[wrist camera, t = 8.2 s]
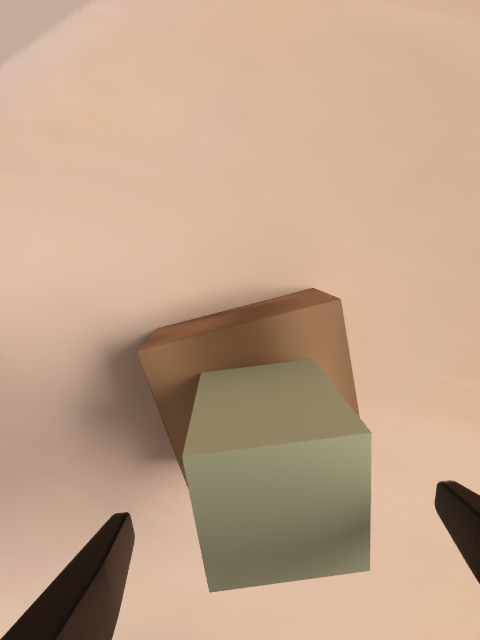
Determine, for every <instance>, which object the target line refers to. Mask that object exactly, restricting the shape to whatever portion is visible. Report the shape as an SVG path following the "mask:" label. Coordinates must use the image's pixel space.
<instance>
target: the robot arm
mask: <svg viewBox="0 0 480 640" xmlns="http://www.w3.org/2000/svg"><path fill="white" fill-rule="evenodd" d="M435 508H436V511H437V513H438V515H439V517H440V518H441V520H442V522H443V523H444V525H445V527H446V529H447V530H448V532H449V534H450V535H451V537H452V539H453V541H454V542H455V544H456V546H457V547H458V549H459V551H460V552H461V554H462V556H463V558H464V559H465V561H466V563H467V564H468V566H469V568H470V569H471V571H472V573H473V574H474V576H475V577H476V579H477V580H478V582H479V584H480V495H478V494H476V493H475V492H473V491H471V490H469V489H468V488H466V487H464V486H462V485H461V484H459V483H457V482H455V481H441V482H439V483H438V484H437V488H436V496H435ZM134 540H135V534H134V529H133V525H132V520H131V516H130V514H129V513H128V512H125V513H116V514H114V515H113V516H111V518H110V519H109V520H108V521H107V522H106V523H105V524H104V525H103V526H102V528H101V529H100V530H99V531H98V532H97V533H96V534H95V535H94V536H93V537H92V539H91V540H90V541H89V542H88V543H87V544H86V545H85V546H84V547H83V549H82V550H81V551H80V552H79V553H78V554H77V555H76V556H75V557H74V559H73V560H72V561H71V562H70V563H69V564H68V565H67V566H66V567H65V569H64V570H63V571H62V572H61V573H60V574H59V575H58V576H57V577H56V578H55V580H54V581H53V582H52V583H51V584H50V585H49V586H48V587H47V588H46V590H45V591H44V592H43V593H42V594H41V595H40V596H39V597H38V598H37V600H36V601H35V602H34V603H33V604H32V605H31V606H30V607H29V608H28V610H27V611H26V612H25V613H24V614H23V615H22V616H21V617H20V618H19V619H18V621H17V622H16V623H15V624H14V625H13V626H12V627H11V628H10V629H9V631H8V632H7V633H6V634H5V635H4V636H3V637H2V638H1V639H0V640H112V637H113V633H114V630H115V626H116V623H117V619H118V615H119V611H120V607H121V602H122V598H123V593H124V588H125V584H126V579H127V574H128V570H129V565H130V560H131V555H132V551H133V546H134Z"/></svg>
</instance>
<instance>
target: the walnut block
mask: <svg viewBox="0 0 480 640" xmlns="http://www.w3.org/2000/svg"><path fill="white" fill-rule="evenodd" d="M136 352H137V354H138V357H139V360H140V362H141V365H142V368H143V370H144V373H145V376H146V378H147V381H148V383H149V386H150V389H151V391H152V394H153V397H154V399H155V402H156V405H157V407H158V410H159V413H160V415H161V418H162V421H163V423H164V426H165V429H166V431H167V434H168V436H169V439H170V442H171V444H172V447H173V450H174V452H175V455H176V458H177V460H178V463H179V466H180V468H181V471H182V474H183V476H184V479H185V481H186V484H187V479H186V474H185V469H184V464H183V459H182V455H183V451H184V446H185V442H186V437H187V433H188V429H189V424H190V420H191V415H192V411H193V407H194V402H195V398H196V393H197V389H198V384H199V380H200V376H201V373H203V372H211V371H219V370H227V369H235V368H243V367H251V366H260V365H268V364H276V363H284V362H292V361H300V360H308V359H313V360H314V361H315V363H316V364H317V365H318V366H319V368H320V369H321V370H322V371H323V373H324V374H325V375H326V376H327V378H328V379H329V380H330V381H331V383H332V384H333V385H334V386H335V388H336V389H337V390H338V391H339V393H340V394H341V395H342V396H343V398H344V399H345V400H346V401H347V403H348V404H349V405H350V406H351V408H352V409H353V410H354V411H355V413H356V414H357V415H358V416H359V411H358V404H357V398H356V392H355V385H354V379H353V373H352V367H351V360H350V354H349V348H348V341H347V335H346V329H345V323H344V316H343V310H342V304H341V299H339V298H337V297H335V296H332V295H330V294H327V293H325V292H322V291H320V290H317V289H315V288H312V289H308V290H304V291H300V292H297V293H293V294H289V295H285V296H281V297H277V298H273V299H269V300H266V301H262V302H258V303H254V304H250V305H246V306H242V307H238V308H235V309H231V310H227V311H223V312H219V313H215V314H211V315H208V316H204V317H200V318H196V319H192V320H188V321H184V322H180V323H177V324H173V325H169V326H165V327H161V328H158V329H157V330H156V331H155V332H154V333H153V334H152V335H151V336H150V338H149V339H148V340H147V341H146V342H145V343H144V344H143V345H142V346H141V347H140V348H139V349H138V350H137V351H136ZM359 418H360V417H359ZM187 487H188V484H187Z"/></svg>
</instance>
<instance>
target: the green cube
mask: <svg viewBox="0 0 480 640" xmlns="http://www.w3.org/2000/svg"><path fill="white" fill-rule="evenodd" d="M182 459H183V464H184V469H185V474H186V479H187V484H188V489H189V494H190V498H191V503H192V508H193V513H194V518H195V523H196V528H197V533H198V538H199V543H200V548H201V553H202V558H203V563H204V568H205V573H206V578H207V583H208V588H209V592H216V591H224V590H231V589H238V588H246V587H253V586H260V585H268V584H275V583H283V582H290V581H297V580H305V579H312V578H319V577H327V576H334V575H342V574H349V573H356V572H364V571H370V507H371V432H370V430H369V429H368V428H367V427H366V425H365V424H364V423H363V421H362V420H361V419H360V418H359V416H358V415H357V414H356V413H355V411H354V410H353V409H352V408H351V406H350V405H349V404H348V403H347V401H346V400H345V399H344V398H343V396H342V395H341V394H340V393H339V391H338V390H337V389H336V388H335V386H334V385H333V384H332V383H331V381H330V380H329V379H328V378H327V376H326V375H325V374H324V373H323V371H322V370H321V369H320V368H319V366H318V365H317V364H316V363H315V361H314V360H313V359H308V360H300V361H292V362H284V363H276V364H268V365H260V366H251V367H243V368H235V369H227V370H219V371H211V372H203V373H201V376H200V380H199V384H198V389H197V393H196V398H195V402H194V407H193V411H192V415H191V420H190V424H189V429H188V433H187V437H186V442H185V446H184V451H183V455H182Z"/></svg>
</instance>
